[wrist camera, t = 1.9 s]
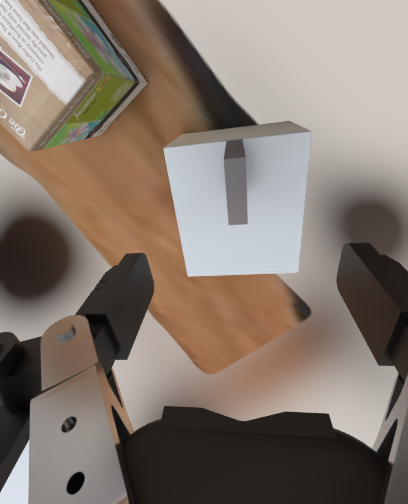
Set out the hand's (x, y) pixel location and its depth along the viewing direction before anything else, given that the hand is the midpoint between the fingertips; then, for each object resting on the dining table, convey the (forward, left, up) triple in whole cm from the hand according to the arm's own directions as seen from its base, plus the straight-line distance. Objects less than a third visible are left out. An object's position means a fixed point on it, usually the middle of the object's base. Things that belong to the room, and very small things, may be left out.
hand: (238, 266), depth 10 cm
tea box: (-12, -18, -28) cm, 36 cm away
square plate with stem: (+5, 0, -18) cm, 19 cm away
